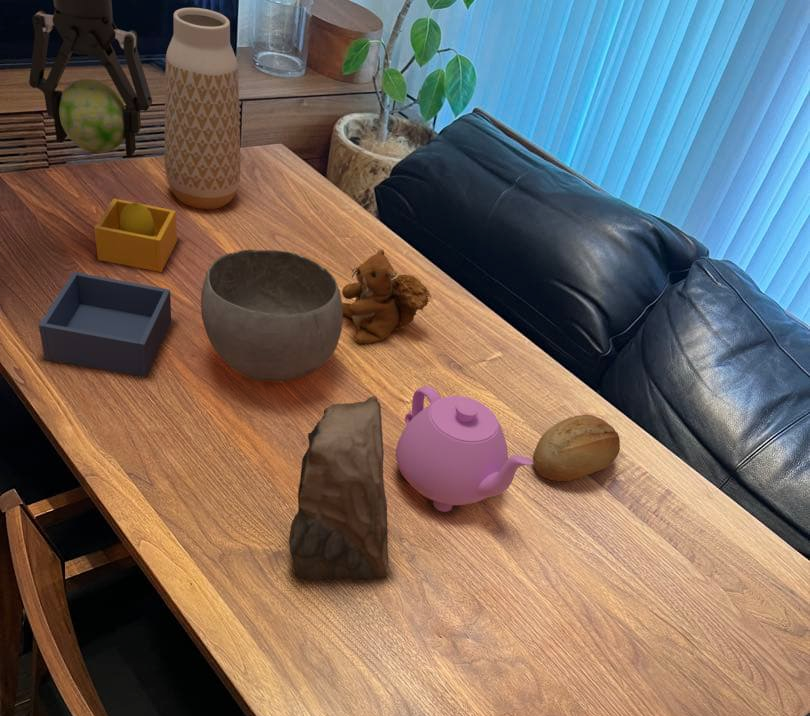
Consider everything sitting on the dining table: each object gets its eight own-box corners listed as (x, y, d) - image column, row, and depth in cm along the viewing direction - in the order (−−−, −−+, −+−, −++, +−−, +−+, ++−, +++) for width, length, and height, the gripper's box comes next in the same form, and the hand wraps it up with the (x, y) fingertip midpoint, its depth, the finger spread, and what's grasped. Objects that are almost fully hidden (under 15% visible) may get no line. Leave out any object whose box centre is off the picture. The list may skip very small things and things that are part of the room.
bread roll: (627, 471, 124) (648, 432, 118) (557, 500, 116) (576, 460, 110) (585, 432, 128) (603, 393, 122) (516, 458, 121) (531, 418, 115)
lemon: (124, 236, 140) (120, 192, 134) (157, 241, 141) (155, 197, 135) (119, 253, 136) (115, 208, 130) (153, 257, 137) (150, 213, 131)
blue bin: (44, 359, 116) (38, 325, 112) (77, 304, 126) (73, 271, 122) (146, 377, 118) (144, 344, 113) (171, 321, 128) (170, 289, 123)
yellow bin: (97, 260, 135) (94, 227, 131) (116, 229, 142) (113, 197, 138) (161, 272, 136) (160, 240, 132) (176, 241, 143) (175, 210, 139)
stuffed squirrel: (331, 310, 138) (341, 238, 128) (408, 308, 142) (423, 239, 133) (347, 345, 132) (358, 273, 122) (426, 342, 137) (443, 272, 127)
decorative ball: (142, 159, 126) (138, 92, 119) (81, 169, 121) (73, 98, 113) (111, 132, 130) (106, 65, 123) (51, 140, 125) (41, 70, 117)
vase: (150, 190, 153) (140, 6, 131) (207, 174, 161) (206, -2, 139) (198, 222, 149) (196, 37, 126) (254, 203, 157) (261, 27, 134)
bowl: (362, 372, 128) (376, 289, 117) (268, 426, 116) (274, 339, 104) (270, 311, 134) (276, 227, 123) (173, 355, 122) (169, 266, 111)
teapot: (539, 514, 114) (572, 442, 104) (460, 558, 106) (487, 484, 95) (439, 422, 123) (460, 348, 113) (359, 456, 115) (374, 379, 105)
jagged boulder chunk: (286, 583, 98) (299, 464, 83) (279, 507, 106) (290, 386, 91) (387, 580, 101) (417, 465, 86) (373, 507, 109) (398, 390, 94)
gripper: (171, -12, 112) (175, 150, 128) (4, -49, 110) (30, 121, 126) (157, 4, 107) (164, 170, 123) (-17, -34, 105) (13, 140, 121)
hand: (96, 145), depth 125 cm, fingers closed on decorative ball, 10 cm apart
